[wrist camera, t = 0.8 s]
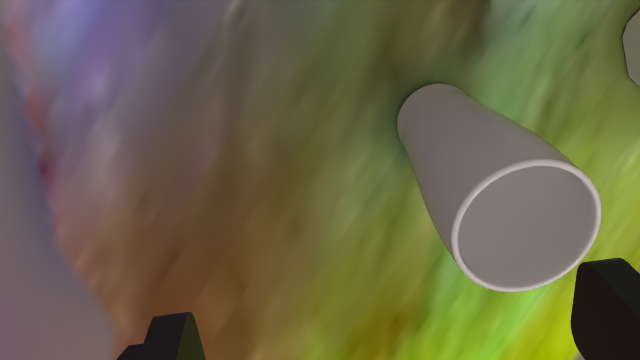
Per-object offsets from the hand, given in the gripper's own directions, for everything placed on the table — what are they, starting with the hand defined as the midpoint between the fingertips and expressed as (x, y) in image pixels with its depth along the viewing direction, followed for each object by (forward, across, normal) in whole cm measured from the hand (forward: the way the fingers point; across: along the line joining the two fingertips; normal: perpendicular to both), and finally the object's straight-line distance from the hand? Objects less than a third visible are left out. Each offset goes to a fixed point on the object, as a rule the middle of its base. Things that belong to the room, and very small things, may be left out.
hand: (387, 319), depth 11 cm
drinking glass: (+26, -8, +5) cm, 27 cm away
